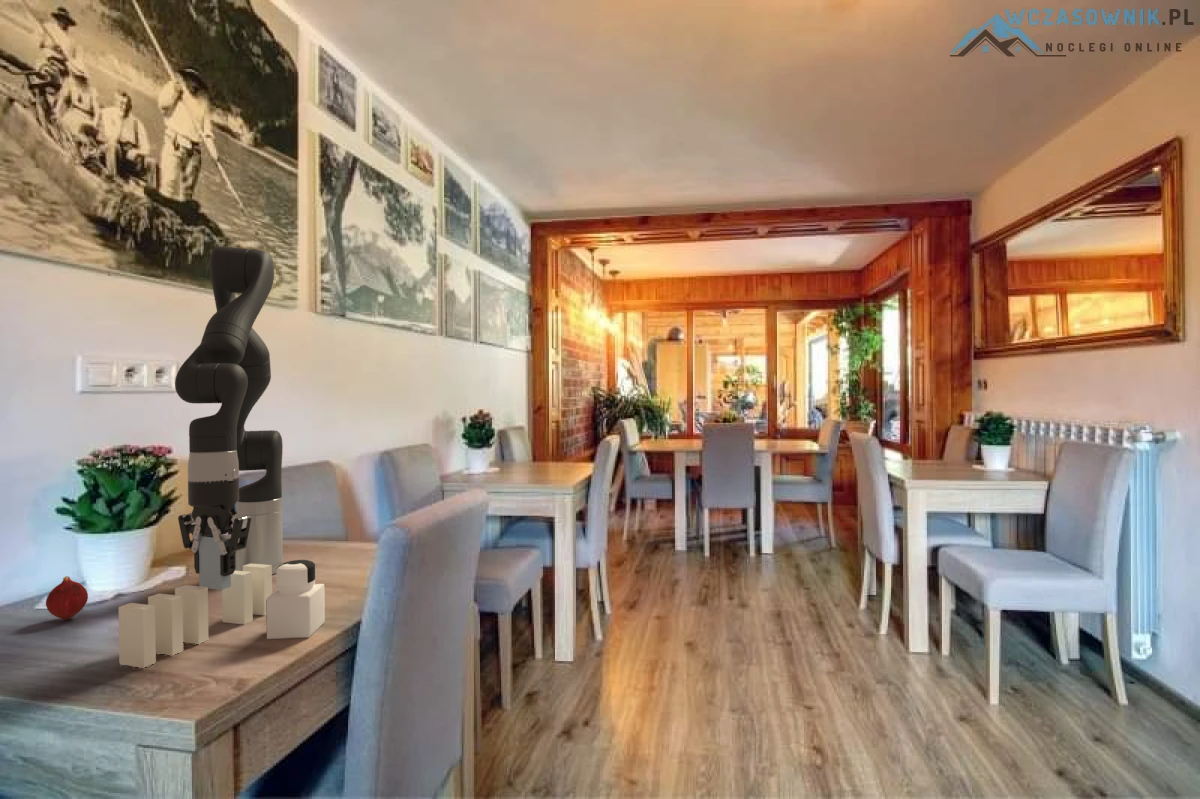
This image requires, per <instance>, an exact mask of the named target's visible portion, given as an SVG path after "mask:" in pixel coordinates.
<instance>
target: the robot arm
mask: <svg viewBox="0 0 1200 799" xmlns="http://www.w3.org/2000/svg"><path fill="white" fill-rule="evenodd" d="M209 257H210V258H209V270H210V272H209V274H210V278H211V287H212V291H213V295H214V296H213V297H214V302H215V303H214V304H215V308H216V312H214V314H213V315H212V316H211V317H210V319H209V320H208V321H207V324H206V326H205V328H204V332H203V335H202V338H201V341H200V343H199V345H198V346H197V347H196V348H195V349H194V351H193V352H192V353H191V354H190V355H189V357H188V358H186V359H185V361H184V362H183V363H182V364H181V366H180V367H179V369H178V371H177V373H176V376H175V380H174V388H175V392H176V394H177V395H178V397H179V398H180V399H181V400H182V401H183V402H186V403H190V404H221V405H220V408H219V409H218V411H217V412H216V413H215V414H211V415H208V416H203V417H198V418H195V419H193V420H191V421H190V424H189V427H188V436H189V437H188V438H189V440H188V443H189V444H188V445H189V453H188V454H189V457H188V461H187V503H188V505H189V506H190V507H193V508H192V511H191V512H189V513H184V514H179V515H178V517H177V518H178V520H177V521H178V525H179V529H180V535H181V539H182V540H181V541H182V546H183V548H184V549H189V550H191V552H192V553H193V557H194V558H193V563H194V568H193V569H194V571H195V574H196V575H197V574H198V575H199V545H200V542H201V538H202V536H205V535H212V536H213V537H214V540H215V542H216V543H218V545H219V548H220V551H221V554H222V555H220V575H221V576H228V575H231V574H233V573H234V571H243V566H244V565H247V564H250V563H251V564H264V565H272V575H275V574H276V569H277V567H278V566H280V565H281V564H283V563H284V560H283V559H284V557H283V552H284V551H283V545H284V544H283V543H284V542H283V541H284V540H283V493H282V492H283V491H282V467H283V465H282V464H283V448H284V447H283V446H284V445H283V438H282V434H281V433H280V432H279V431H277V430H269V429H268V430H245V424H246V421H247V419H248V417H249V415H250V412H251V411H252V409H253V408H254V407H255V405H256V404H257V403H258V401H259V400H260V398H261V397H262V396H263V394H264V393H265V391H266V390H267V388H268V387H269V385H270V382H271V379H272V371H271V369H272V368H271V357H270V355H271V354H270V351H269V348H268V346H267V345H266V343H265V342H264V340H263V339H262V338H261V336H260V335H259V334H258V332H257V331H255V329H254V328H253V326H254V323H255V321H256V319H257V317H258V315H259V314H260V312H261V310H262V308H263V307H264V305H265V303H266V301H267V299H268V297H269V295H270V293H271V291H272V288H273V285H274V279H275V268H274V261H273V259H272V257H271V255H270V254H269V253H268V252H267V251H265V250H264V251H263V250H259V249H253V248H242V247H230V246H216V247H214V248H213V249H212V251H211V254H210V256H209ZM236 294H239V296H237V297H236ZM264 470H265V474H264V476H263V477H261V478H260V479H258V480H256V481H254V482H251V483H249V484H245V485H242V486H241V487H240V476H239V475H240V472H241V471H242V472H243V471H244V472H245V471H246V472H247V471H248V472H249V471H264ZM226 534H227V535H226ZM190 535H191V537H190ZM222 535H226V536H222ZM191 538H192V540H191ZM226 540H230V544H229V546H227V544H226Z"/></svg>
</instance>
